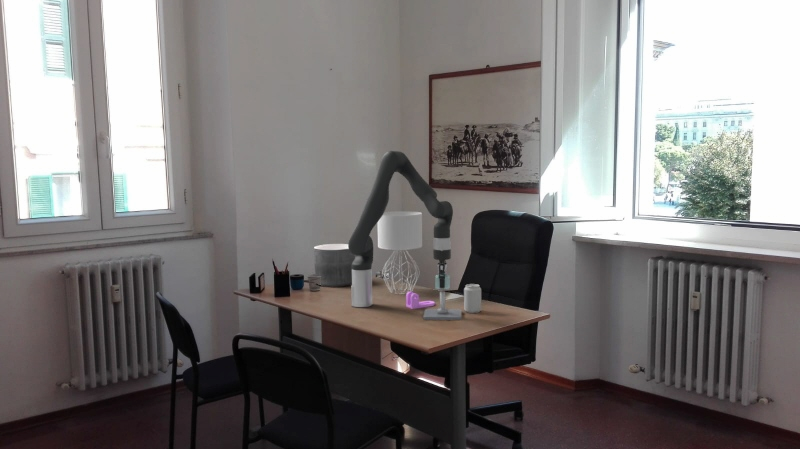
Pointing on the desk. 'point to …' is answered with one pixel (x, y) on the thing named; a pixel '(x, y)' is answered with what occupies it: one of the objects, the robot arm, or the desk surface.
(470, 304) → the can
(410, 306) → the bracket
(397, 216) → the table lamp
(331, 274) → the planter
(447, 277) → the collar
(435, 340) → the desk surface
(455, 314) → the post block
